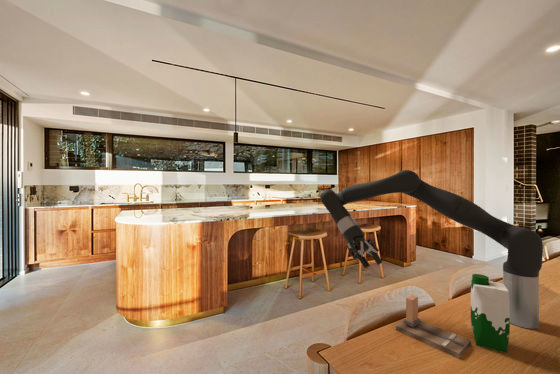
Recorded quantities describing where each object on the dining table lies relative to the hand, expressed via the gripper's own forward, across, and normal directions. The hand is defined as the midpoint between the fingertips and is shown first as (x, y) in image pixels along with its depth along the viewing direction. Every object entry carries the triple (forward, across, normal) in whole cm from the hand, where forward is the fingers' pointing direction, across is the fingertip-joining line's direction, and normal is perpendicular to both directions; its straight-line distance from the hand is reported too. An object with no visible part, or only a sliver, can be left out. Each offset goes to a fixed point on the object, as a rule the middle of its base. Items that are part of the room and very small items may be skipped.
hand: (374, 265), depth 96 cm
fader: (+21, +1, +1) cm, 21 cm away
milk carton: (+35, +11, -11) cm, 38 cm away
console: (+27, +1, -2) cm, 27 cm away
